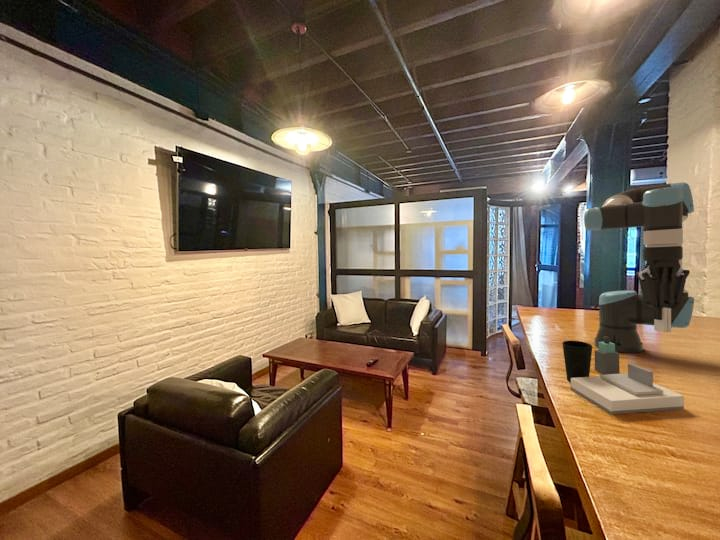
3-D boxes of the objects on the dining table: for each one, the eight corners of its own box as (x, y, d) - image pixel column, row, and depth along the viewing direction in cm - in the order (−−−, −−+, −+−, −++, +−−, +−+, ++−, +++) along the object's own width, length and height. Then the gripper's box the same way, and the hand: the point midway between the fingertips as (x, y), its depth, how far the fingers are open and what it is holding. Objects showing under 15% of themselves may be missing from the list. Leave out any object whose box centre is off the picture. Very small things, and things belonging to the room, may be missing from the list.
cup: (594, 388, 89) (593, 349, 88) (563, 383, 93) (563, 346, 92) (591, 378, 95) (590, 342, 95) (562, 374, 99) (561, 339, 99)
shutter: (623, 375, 88) (623, 360, 88) (663, 393, 77) (663, 375, 76) (600, 377, 88) (599, 361, 87) (636, 395, 76) (636, 377, 76)
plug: (609, 369, 102) (608, 335, 101) (619, 373, 98) (619, 338, 97) (594, 370, 101) (594, 335, 101) (604, 374, 97) (604, 339, 97)
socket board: (632, 385, 89) (632, 373, 89) (683, 409, 75) (683, 395, 75) (570, 389, 89) (570, 378, 89) (611, 414, 75) (611, 400, 75)
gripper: (671, 245, 84) (671, 326, 85) (625, 247, 84) (626, 329, 85) (702, 244, 77) (702, 333, 78) (652, 246, 76) (652, 336, 78)
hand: (662, 330), depth 82 cm, fingers closed
